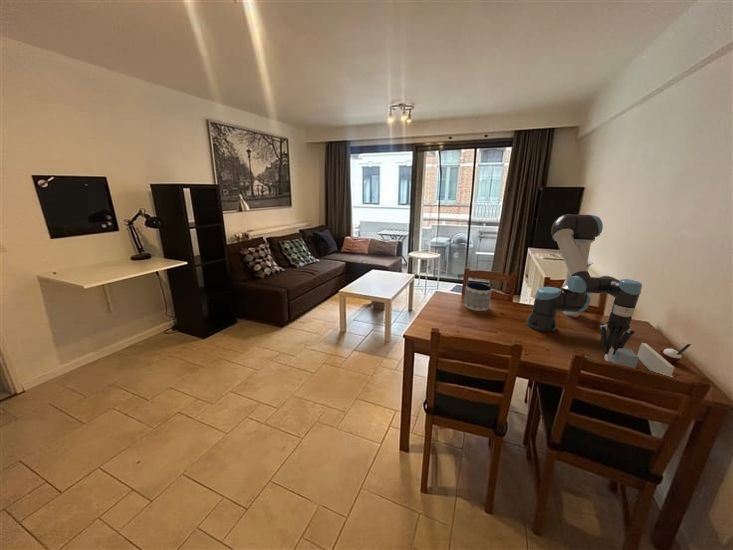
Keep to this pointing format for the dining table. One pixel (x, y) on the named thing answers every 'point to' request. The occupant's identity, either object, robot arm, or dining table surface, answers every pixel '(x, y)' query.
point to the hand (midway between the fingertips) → (607, 359)
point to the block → (625, 357)
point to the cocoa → (673, 354)
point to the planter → (477, 296)
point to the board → (654, 360)
